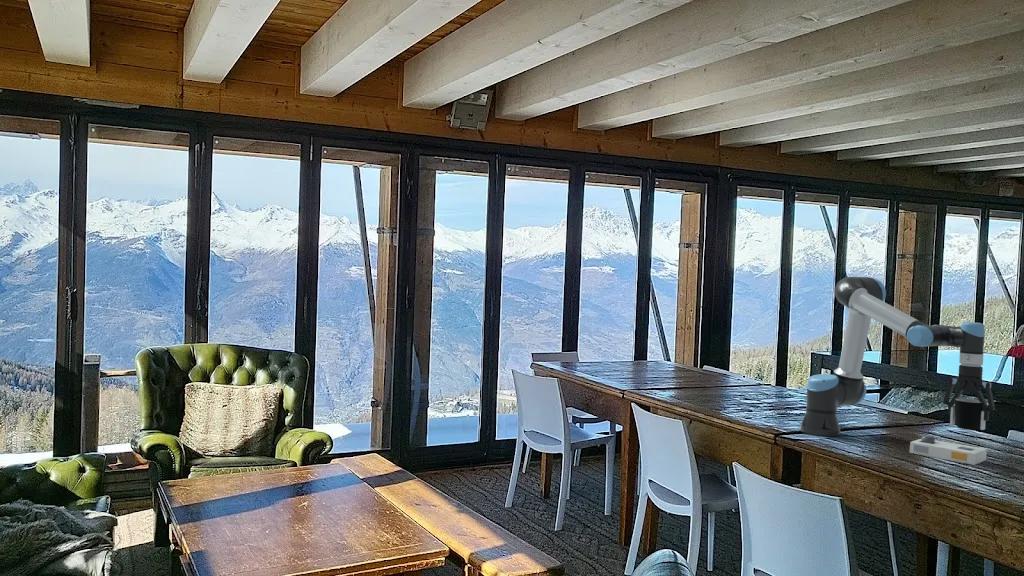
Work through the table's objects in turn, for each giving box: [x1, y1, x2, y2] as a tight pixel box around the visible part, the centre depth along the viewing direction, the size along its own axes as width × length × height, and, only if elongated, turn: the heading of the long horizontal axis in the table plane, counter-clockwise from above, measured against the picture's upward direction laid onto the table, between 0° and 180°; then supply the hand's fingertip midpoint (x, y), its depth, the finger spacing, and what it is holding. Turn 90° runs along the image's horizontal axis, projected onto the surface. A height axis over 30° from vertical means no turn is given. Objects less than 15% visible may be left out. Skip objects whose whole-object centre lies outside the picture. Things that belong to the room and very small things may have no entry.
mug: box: [954, 397, 984, 431], centre depth 305 cm, size 12×9×10 cm
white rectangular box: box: [909, 438, 988, 466], centre depth 310 cm, size 22×13×4 cm, turn 44°
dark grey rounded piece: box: [921, 434, 936, 444], centre depth 315 cm, size 4×4×3 cm
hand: (967, 427), depth 305 cm, fingers closed on mug, 9 cm apart
